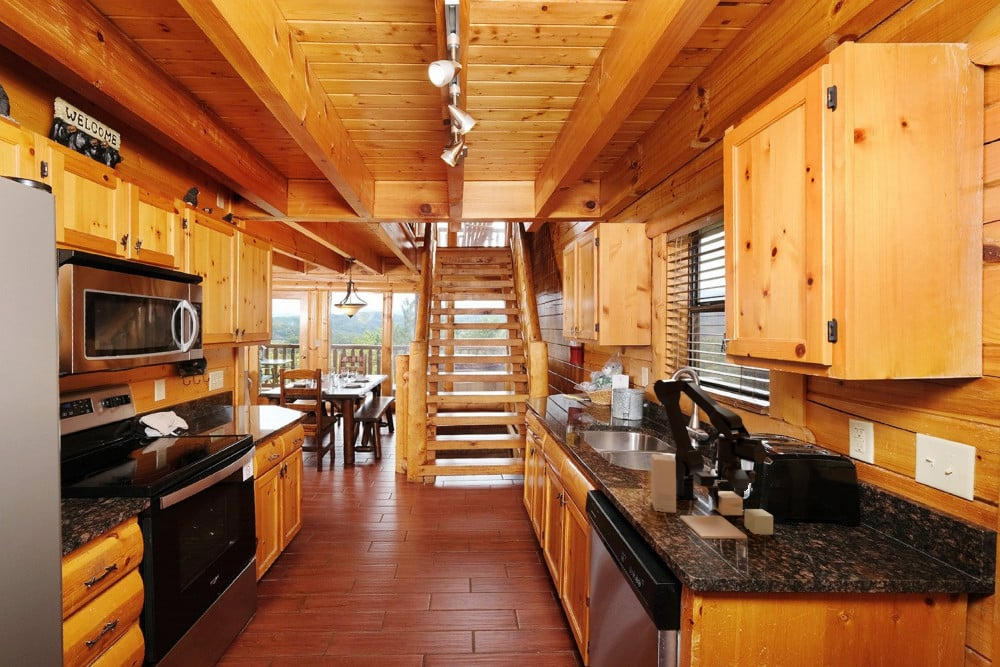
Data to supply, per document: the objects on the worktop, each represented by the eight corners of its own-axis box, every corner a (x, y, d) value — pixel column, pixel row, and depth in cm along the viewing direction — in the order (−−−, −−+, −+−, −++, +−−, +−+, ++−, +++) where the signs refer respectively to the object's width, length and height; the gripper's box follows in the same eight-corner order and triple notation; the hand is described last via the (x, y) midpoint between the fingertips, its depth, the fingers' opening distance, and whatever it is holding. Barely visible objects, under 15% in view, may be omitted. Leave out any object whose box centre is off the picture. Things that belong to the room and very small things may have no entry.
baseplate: (679, 517, 139) (679, 515, 139) (720, 517, 140) (720, 515, 140) (701, 538, 125) (701, 536, 125) (746, 538, 126) (746, 536, 126)
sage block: (744, 527, 133) (744, 509, 133) (762, 527, 133) (762, 509, 133) (754, 534, 128) (754, 516, 128) (772, 534, 128) (773, 516, 128)
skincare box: (676, 513, 142) (677, 461, 142) (653, 511, 144) (653, 459, 144) (672, 503, 151) (672, 454, 151) (650, 502, 152) (650, 453, 152)
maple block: (712, 507, 147) (712, 491, 147) (731, 507, 147) (732, 491, 147) (722, 515, 141) (722, 498, 141) (742, 515, 141) (742, 498, 141)
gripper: (709, 463, 135) (709, 518, 135) (774, 463, 136) (773, 518, 136) (692, 453, 146) (692, 504, 146) (752, 453, 147) (752, 504, 147)
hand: (727, 507), depth 144 cm, fingers closed on maple block, 6 cm apart
